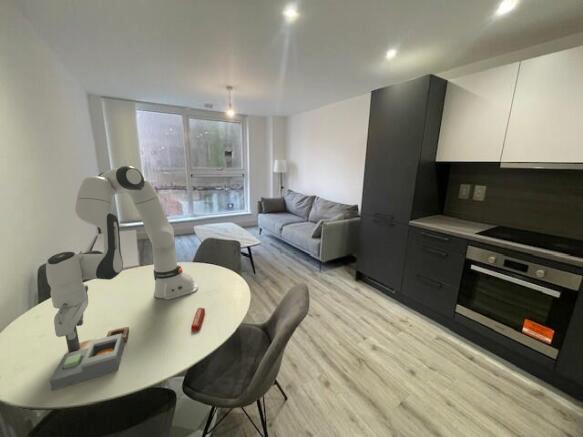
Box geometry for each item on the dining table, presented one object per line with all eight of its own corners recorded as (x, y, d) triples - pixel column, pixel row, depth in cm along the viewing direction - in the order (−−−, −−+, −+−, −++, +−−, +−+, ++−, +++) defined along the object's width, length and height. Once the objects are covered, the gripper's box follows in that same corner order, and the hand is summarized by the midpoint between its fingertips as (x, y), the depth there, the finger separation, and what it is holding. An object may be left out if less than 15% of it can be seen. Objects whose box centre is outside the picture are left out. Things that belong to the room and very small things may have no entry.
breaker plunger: (116, 353, 87) (115, 346, 86) (113, 363, 82) (112, 356, 82) (98, 357, 85) (97, 350, 84) (94, 368, 80) (93, 361, 80)
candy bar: (199, 332, 100) (198, 326, 99) (190, 333, 99) (189, 327, 98) (205, 310, 115) (205, 305, 115) (198, 311, 115) (197, 305, 114)
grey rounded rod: (81, 345, 90) (77, 322, 88) (78, 351, 87) (73, 327, 85) (70, 348, 89) (66, 324, 87) (67, 354, 86) (62, 330, 84)
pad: (96, 340, 94) (96, 338, 94) (90, 354, 87) (90, 352, 87) (70, 346, 91) (70, 344, 90) (62, 361, 84) (61, 359, 83)
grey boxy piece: (124, 346, 91) (122, 333, 90) (118, 370, 80) (115, 355, 79) (66, 362, 83) (63, 347, 82) (51, 390, 73) (47, 374, 72)
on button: (82, 360, 82) (81, 353, 81) (79, 368, 79) (77, 360, 78) (69, 364, 80) (67, 356, 80) (65, 372, 77) (63, 364, 77)
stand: (129, 331, 99) (128, 326, 99) (126, 342, 93) (125, 336, 93) (109, 336, 96) (108, 331, 96) (105, 347, 90) (104, 342, 90)
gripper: (70, 310, 77) (77, 347, 79) (89, 283, 94) (94, 314, 97) (44, 315, 74) (52, 353, 77) (68, 286, 92) (75, 318, 95)
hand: (76, 331), depth 87 cm, fingers open, 7 cm apart
